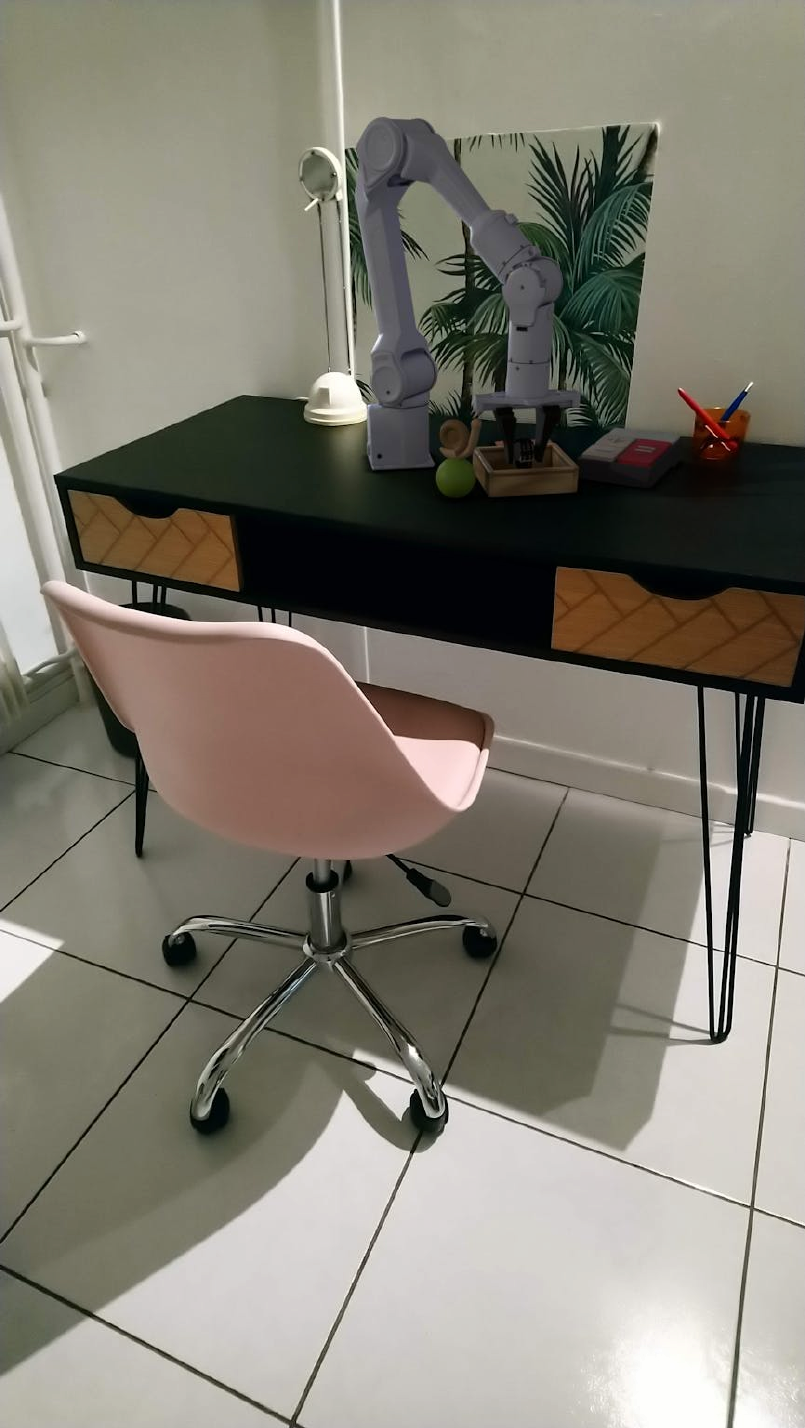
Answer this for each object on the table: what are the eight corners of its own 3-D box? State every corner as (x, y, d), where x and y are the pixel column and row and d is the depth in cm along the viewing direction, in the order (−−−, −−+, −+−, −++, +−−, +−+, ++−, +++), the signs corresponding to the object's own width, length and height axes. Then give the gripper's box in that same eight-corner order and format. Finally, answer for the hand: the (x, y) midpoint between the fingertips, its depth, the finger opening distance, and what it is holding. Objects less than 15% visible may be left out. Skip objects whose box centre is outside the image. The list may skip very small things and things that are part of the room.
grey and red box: (576, 453, 126) (613, 423, 137) (574, 482, 129) (611, 451, 139) (652, 463, 122) (684, 431, 132) (649, 493, 124) (681, 460, 134)
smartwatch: (539, 467, 129) (539, 432, 126) (533, 478, 125) (532, 442, 122) (511, 466, 130) (510, 432, 127) (504, 478, 126) (503, 442, 123)
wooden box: (488, 497, 122) (489, 472, 120) (472, 470, 133) (472, 447, 131) (577, 492, 123) (579, 467, 121) (554, 466, 134) (555, 442, 132)
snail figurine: (469, 507, 119) (471, 415, 113) (428, 499, 122) (428, 409, 116) (488, 495, 123) (491, 406, 116) (448, 488, 126) (448, 400, 119)
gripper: (481, 368, 115) (478, 472, 123) (590, 363, 117) (581, 466, 124) (471, 357, 121) (469, 457, 128) (575, 353, 122) (567, 452, 130)
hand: (523, 461), depth 127 cm, fingers closed on smartwatch, 3 cm apart
